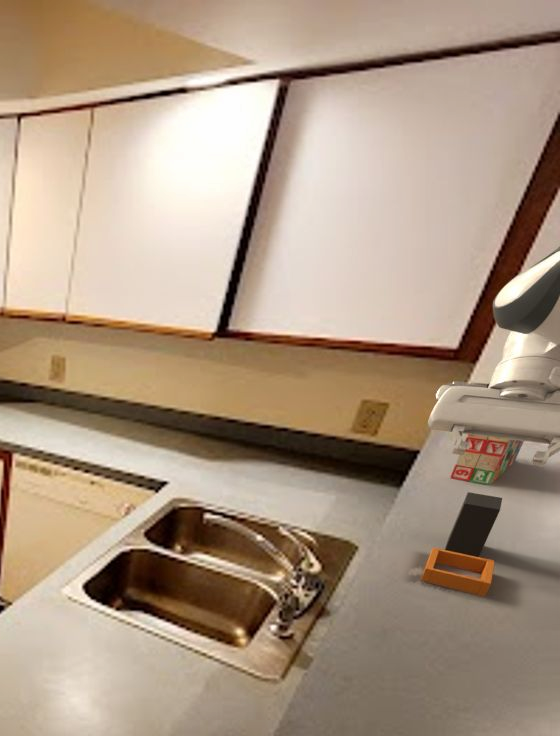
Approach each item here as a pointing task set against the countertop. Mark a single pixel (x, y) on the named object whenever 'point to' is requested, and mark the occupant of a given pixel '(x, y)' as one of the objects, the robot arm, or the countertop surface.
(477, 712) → the countertop surface
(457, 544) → the black rectangular block
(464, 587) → the orange rectangular frame
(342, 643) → the countertop surface
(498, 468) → the stack of blocks
